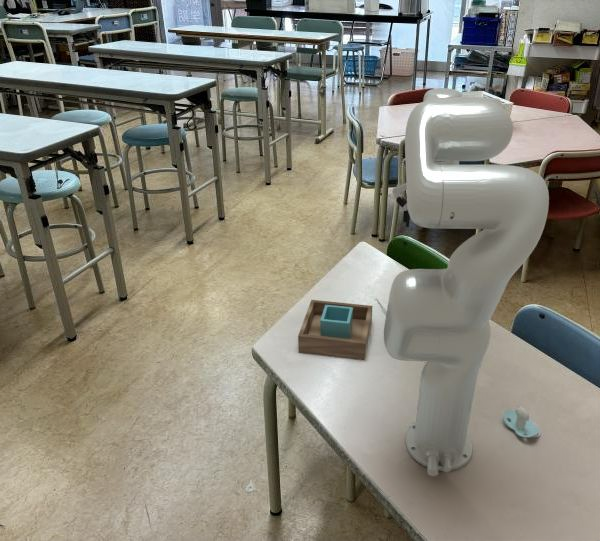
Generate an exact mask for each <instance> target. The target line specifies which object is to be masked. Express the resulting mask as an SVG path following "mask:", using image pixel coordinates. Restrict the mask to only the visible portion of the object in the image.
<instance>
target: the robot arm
mask: <svg viewBox="0 0 600 541" xmlns="http://www.w3.org/2000/svg"><path fill="white" fill-rule="evenodd" d="M422 100H423V101H421V102H419V103H418V104H417V105H415V106H414V108H412V110H411V112H410V113H409V117H408V118H407V121H406V122H407V123H406V127H405V133H404V134H405V136H404V155H405V156H404V158H405V178H406V181H405V183H402V184H400V185H396V186H394V187H393V188H392V191H391V192H392V194H393V196H394V198H395V201H396V203H397V204H398V205H399V206H400V207H401V208H402V210H403V218H402V219H403V220H402V223H405V228H409V227H410V222H411V221H412V222H413V223H414V224H415V225H417V226H418V227H422V228H425V229H426V228H427V229H450V231H452V232H454V230H455V229H460V230H461V229H463V230H465V229H466V230H467V229H468V230H470V229H471V230H475V229H476V230H481V231H479V232H477V233H475V234H474V235H472V236H471V237H469V238H468V239H466V240H465V241H464V242H462V243H461V244H460V245H459V246H458V247H457V248H456V249H455V251H453V253H452V254H451V256H450V257H449V260H448V264H447V268H437V269H436V268H414V269H413V268H412V269H410V268H409V269H405V270H403V271H401V272H399V273H398V274H397V275H396V276H395V277H394V279H393V280H392V284H391V287H390V291H389V295H388V296H389V297H388V302H387V308H386V312H387V313H386V315H385V320H384V327H383V342H384V347H385V350H386V351H387V353H388V354H389V356H390V357H391V358H392V359H395V360H398V361H402V362H403V361H404V362H425V364H424V365H423V368H422V371H421V374H420V375H421V376H420V381H419V383H420V384H419V389H418V391H419V392H418V400H417V408H416V419H415V422H414V423H412V424H411V425H410V426H409V428H408V429H407V431H406V435H405V446H406V450H407V451H408V453H409V455H411V457H412V458H413V459H414V460H415V461H417V462H418V464H421V465H422V466H423V467H426V468H427V470H426V472H427V475H429V476H431V477H437V476H438V475H439V471H441V472H446V473H450V472H451V471H456V470H458V469H461V468H463V467H464V466H465V465H467V464H468V462H469V461H470V460H471V458H472V454H473V448H474V447H473V446H474V445H473V442H472V439H471V437H470V436H469V434H468V429H469V424H470V418H471V412H472V407H473V402H474V395H475V392H476V385H477V382H478V377H479V376H478V375H479V372H480V369H481V365H482V362H483V360H484V358H485V356H486V354H487V351H488V348H489V346H490V341H491V332H492V330H491V325H490V320H491V319H492V317H493V315H494V312H496V309H497V307H498V305H499V302H500V300H501V298H502V297H503V294H504V292H505V290H506V288H507V285H508V283H509V281H510V280H511V278H512V277H513V275H515V273H516V272H517V271H518V270H519V269H520V268H521V267H522V266H523V264H524V263H525V262H526V261H527V259H528V258H529V257H530V255H531V254H532V253H533V251H534V250H535V248H536V247H537V245H538V242H539V241H540V239H541V236H542V235H543V231H544V229H545V225H546V222H547V219H548V218H547V217H548V214H549V206H550V205H549V204H550V201H549V200H550V196H549V193H550V192H549V189H548V188H549V187H548V185H547V182H546V181H545V180H544V178H543V177H542V176H541V175H540V174H539V173H537V172H536V171H534V170H532V169H529V168H526V167H524V166H523V167H522V166H516V165H507V164H460V162H480V161H487V160H490V159H493V158H495V157H496V156H498V155H500V154H501V153H502V152H504V151H505V150H506V149H507V147H508V145H509V144H510V142H511V141H512V139H513V135H514V126H513V120H512V117H511V116H510V114H509V112H508V111H507V110H506V109H505V108H504V106H503V102H502V101H501V99H500V98H495V97H487V96H486V97H483V96H482V97H479V96H477V97H475V96H469V97H468V96H464V97H463V95H462V93H461V92H460V91H459V90H457V89H453V88H449V87H448V88H447V87H446V88H445V87H438V88H432V89H429V90H427V91H426V92H425V93H424V96H423V99H422ZM405 191H406V199H405V198H404V197H403V196H402V195H401V194H402V192H405Z"/></svg>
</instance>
